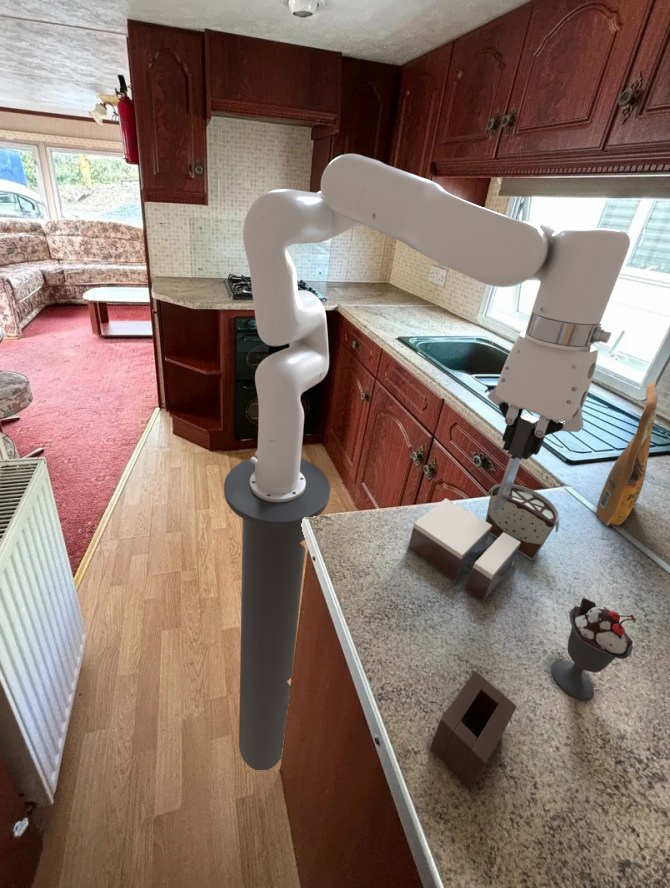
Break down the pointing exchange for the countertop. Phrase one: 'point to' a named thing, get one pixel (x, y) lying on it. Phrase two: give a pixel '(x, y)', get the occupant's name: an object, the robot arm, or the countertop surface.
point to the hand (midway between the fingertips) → (518, 450)
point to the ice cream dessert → (523, 518)
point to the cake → (449, 538)
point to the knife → (515, 457)
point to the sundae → (591, 647)
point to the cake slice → (492, 566)
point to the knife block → (459, 742)
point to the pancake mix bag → (628, 469)
